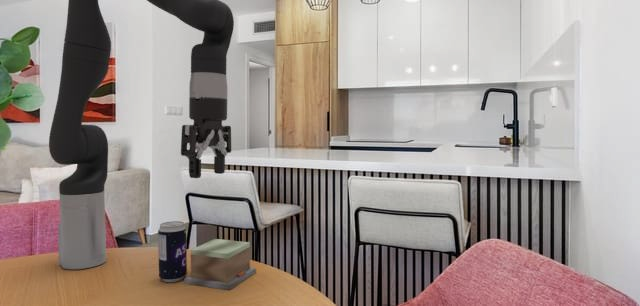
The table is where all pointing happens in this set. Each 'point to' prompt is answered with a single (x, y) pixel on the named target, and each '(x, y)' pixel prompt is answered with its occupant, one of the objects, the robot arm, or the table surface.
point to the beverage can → (172, 251)
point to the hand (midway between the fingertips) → (207, 175)
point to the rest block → (220, 264)
